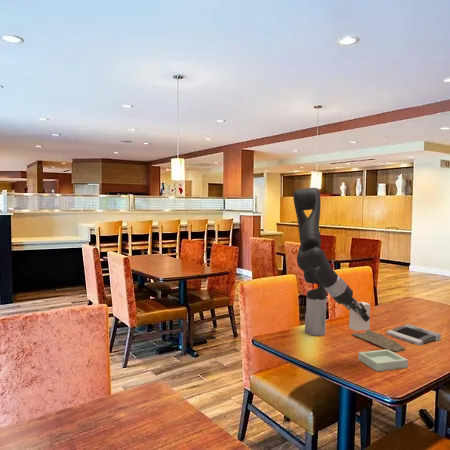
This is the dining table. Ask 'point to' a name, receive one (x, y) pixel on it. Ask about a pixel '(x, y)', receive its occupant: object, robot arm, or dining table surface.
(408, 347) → the dining table surface
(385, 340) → the stone tool
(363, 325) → the gray block
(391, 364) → the pale green tray
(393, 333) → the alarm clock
